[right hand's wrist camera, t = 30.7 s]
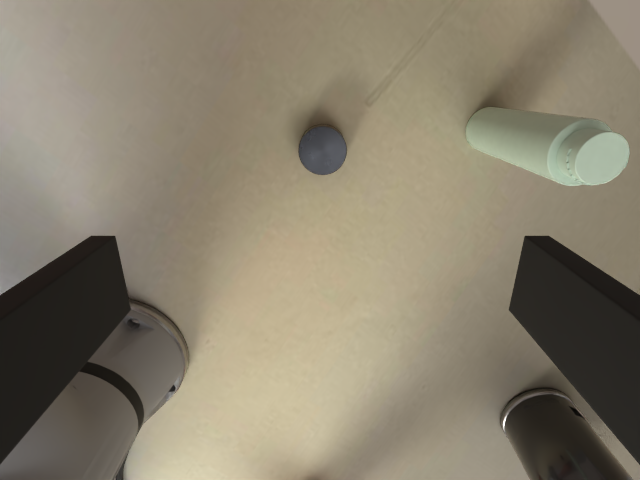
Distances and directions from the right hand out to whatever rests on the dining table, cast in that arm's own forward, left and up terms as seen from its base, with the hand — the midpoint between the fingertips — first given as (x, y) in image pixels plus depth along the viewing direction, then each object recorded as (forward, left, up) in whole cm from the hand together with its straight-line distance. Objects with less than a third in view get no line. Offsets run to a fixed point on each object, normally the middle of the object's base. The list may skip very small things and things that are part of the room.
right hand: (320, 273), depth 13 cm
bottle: (-3, -16, -27) cm, 31 cm away
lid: (0, 0, -25) cm, 25 cm away
